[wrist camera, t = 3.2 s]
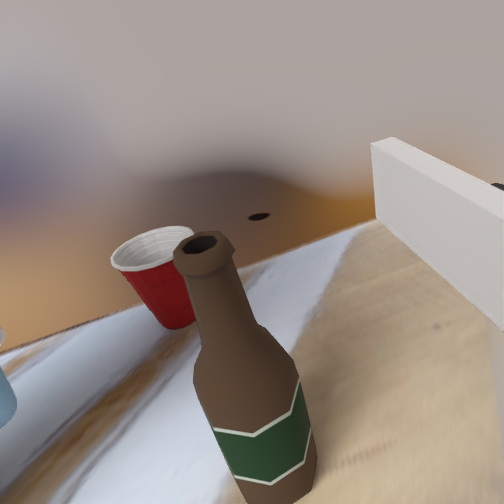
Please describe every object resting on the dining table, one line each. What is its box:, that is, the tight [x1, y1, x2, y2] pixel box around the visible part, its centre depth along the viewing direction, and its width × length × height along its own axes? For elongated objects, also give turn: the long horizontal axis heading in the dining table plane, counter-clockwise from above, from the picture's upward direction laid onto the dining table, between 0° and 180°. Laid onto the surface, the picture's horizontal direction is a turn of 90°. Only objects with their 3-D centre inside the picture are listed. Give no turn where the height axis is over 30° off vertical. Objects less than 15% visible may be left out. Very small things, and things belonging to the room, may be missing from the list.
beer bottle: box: [173, 231, 317, 504], centre depth 31 cm, size 8×8×24 cm
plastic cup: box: [110, 226, 196, 329], centre depth 56 cm, size 11×11×12 cm
